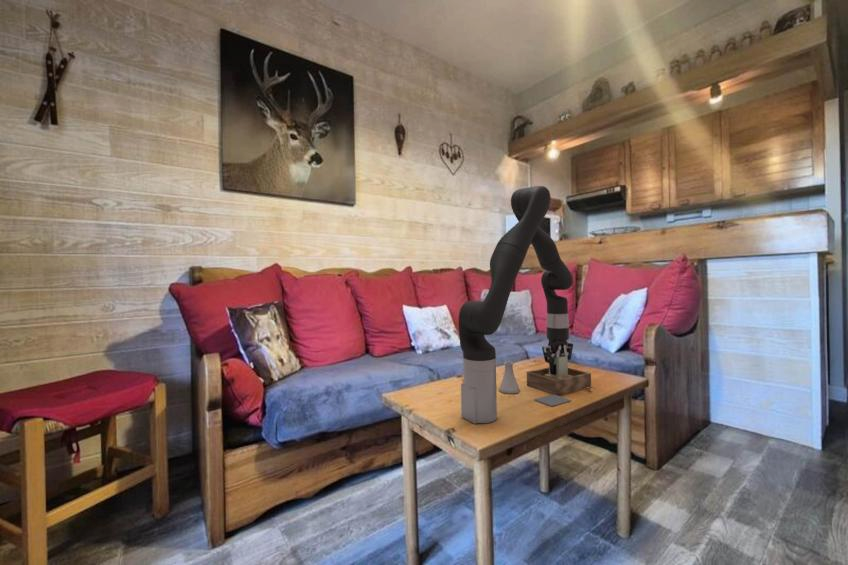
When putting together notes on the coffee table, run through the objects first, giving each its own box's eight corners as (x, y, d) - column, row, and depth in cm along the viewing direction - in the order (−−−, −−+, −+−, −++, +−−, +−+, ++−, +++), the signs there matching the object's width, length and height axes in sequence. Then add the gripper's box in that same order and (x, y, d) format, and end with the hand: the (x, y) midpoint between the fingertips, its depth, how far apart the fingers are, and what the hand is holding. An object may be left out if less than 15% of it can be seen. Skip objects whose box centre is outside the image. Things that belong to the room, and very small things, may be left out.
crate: (558, 396, 119) (558, 381, 118) (526, 385, 131) (526, 371, 131) (591, 387, 127) (590, 373, 127) (558, 378, 139) (558, 365, 139)
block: (559, 377, 126) (558, 357, 126) (549, 374, 130) (548, 355, 129) (567, 375, 128) (567, 356, 128) (557, 372, 132) (557, 354, 132)
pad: (551, 407, 109) (551, 405, 109) (534, 400, 115) (534, 399, 115) (571, 401, 114) (571, 400, 114) (553, 395, 120) (553, 394, 120)
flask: (518, 387, 128) (517, 360, 128) (521, 394, 121) (521, 365, 121) (497, 387, 129) (497, 360, 129) (499, 394, 122) (499, 365, 122)
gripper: (552, 328, 122) (553, 379, 122) (579, 325, 129) (580, 372, 129) (535, 326, 128) (536, 374, 129) (562, 323, 135) (563, 368, 136)
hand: (558, 373), depth 129 cm, fingers closed on block, 4 cm apart
